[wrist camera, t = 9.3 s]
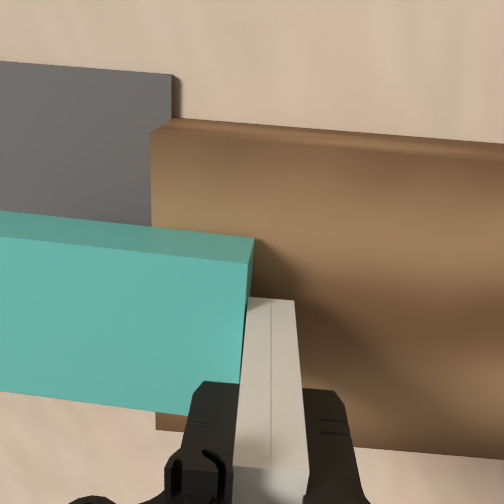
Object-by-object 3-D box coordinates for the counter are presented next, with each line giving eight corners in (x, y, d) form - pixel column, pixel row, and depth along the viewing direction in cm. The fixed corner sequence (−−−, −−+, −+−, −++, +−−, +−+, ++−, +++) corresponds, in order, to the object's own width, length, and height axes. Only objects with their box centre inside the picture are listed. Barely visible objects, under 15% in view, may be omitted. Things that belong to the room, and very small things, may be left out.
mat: (172, 398, 23) (171, 403, 22) (-108, 374, 23) (-112, 378, 22) (172, 74, 16) (170, 75, 16) (-211, 44, 17) (-219, 44, 16)
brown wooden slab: (568, 408, 22) (619, 469, 19) (172, 374, 22) (155, 429, 19) (683, 158, 17) (780, 183, 14) (172, 117, 17) (149, 133, 14)
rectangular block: (243, 383, 17) (235, 422, 16) (15, 354, 18) (-17, 388, 16) (254, 237, 15) (248, 263, 13) (-9, 209, 15) (-51, 230, 14)
